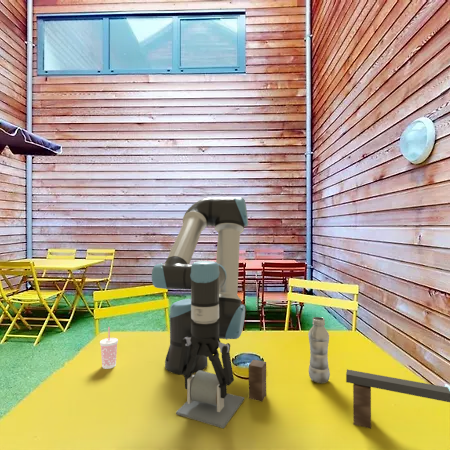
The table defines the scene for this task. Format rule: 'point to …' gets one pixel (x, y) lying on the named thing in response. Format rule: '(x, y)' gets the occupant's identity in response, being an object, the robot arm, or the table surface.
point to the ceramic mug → (204, 387)
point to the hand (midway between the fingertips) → (205, 404)
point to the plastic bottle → (319, 351)
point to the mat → (212, 411)
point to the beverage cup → (108, 351)
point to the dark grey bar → (398, 385)
